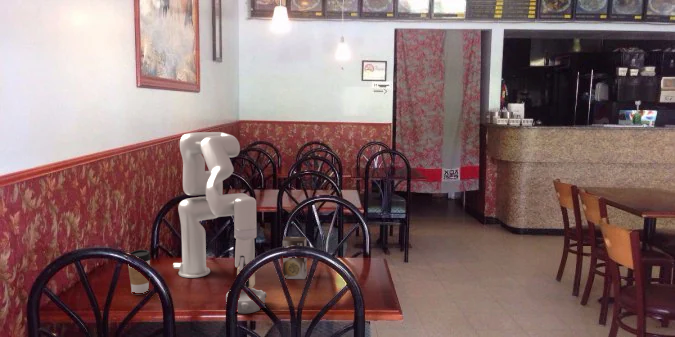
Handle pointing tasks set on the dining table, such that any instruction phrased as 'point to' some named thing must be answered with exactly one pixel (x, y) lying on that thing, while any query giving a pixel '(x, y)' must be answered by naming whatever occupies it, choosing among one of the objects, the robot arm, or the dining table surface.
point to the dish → (249, 301)
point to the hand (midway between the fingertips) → (246, 283)
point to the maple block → (251, 279)
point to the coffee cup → (136, 278)
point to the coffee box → (295, 260)
